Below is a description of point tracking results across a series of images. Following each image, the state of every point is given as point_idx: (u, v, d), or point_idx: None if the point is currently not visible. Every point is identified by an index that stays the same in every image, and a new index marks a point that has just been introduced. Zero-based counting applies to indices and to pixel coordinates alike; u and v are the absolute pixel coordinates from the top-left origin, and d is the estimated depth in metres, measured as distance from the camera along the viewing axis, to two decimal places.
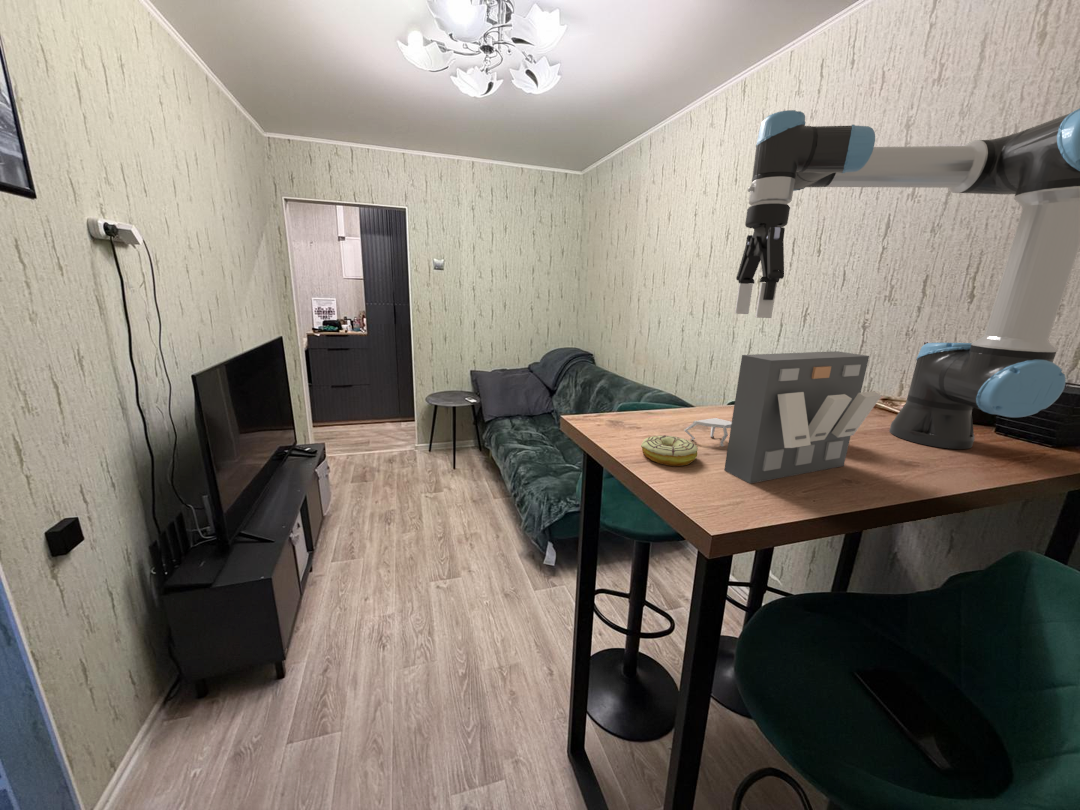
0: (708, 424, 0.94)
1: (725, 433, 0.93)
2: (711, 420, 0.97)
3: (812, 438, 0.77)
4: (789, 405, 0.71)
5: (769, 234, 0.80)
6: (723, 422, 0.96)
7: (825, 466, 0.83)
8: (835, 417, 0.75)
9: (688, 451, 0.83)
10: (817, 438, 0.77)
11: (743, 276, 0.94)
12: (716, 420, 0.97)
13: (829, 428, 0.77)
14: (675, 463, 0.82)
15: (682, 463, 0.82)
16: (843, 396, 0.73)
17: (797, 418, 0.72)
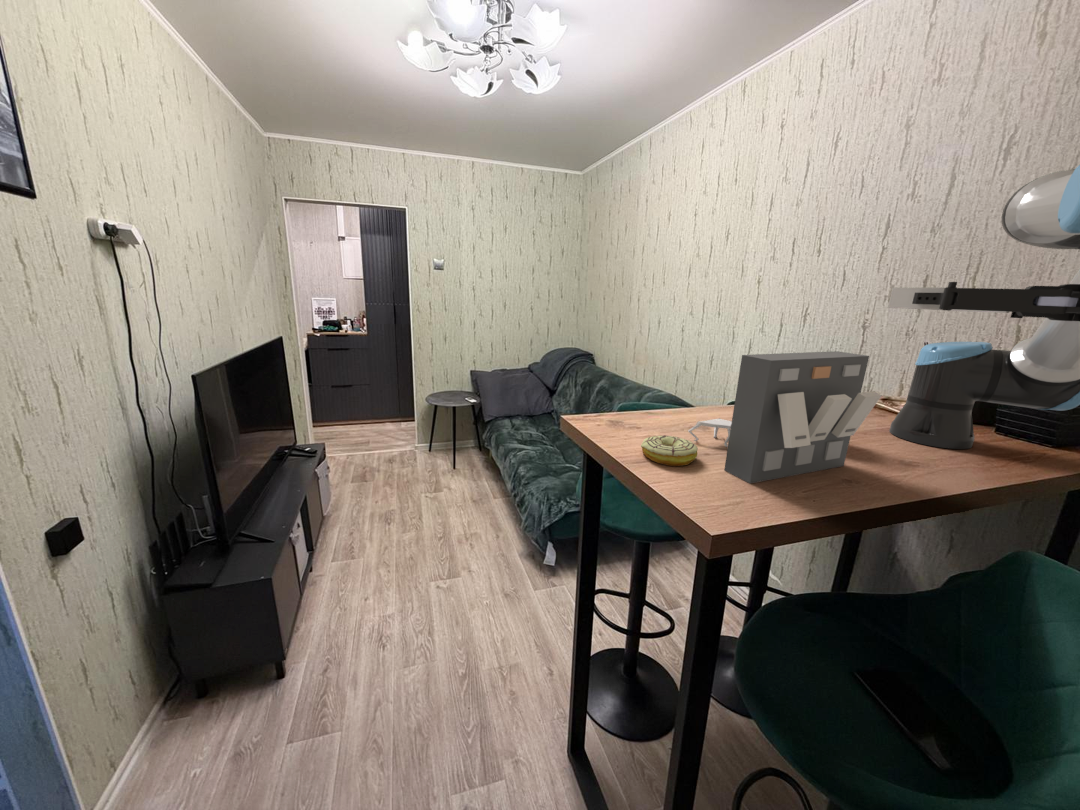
0: (712, 425, 0.94)
1: None
2: (715, 421, 0.96)
3: (812, 438, 0.77)
4: (789, 405, 0.71)
5: None
6: (727, 422, 0.96)
7: (825, 466, 0.83)
8: (835, 417, 0.75)
9: (688, 451, 0.83)
10: (817, 438, 0.77)
11: None
12: (720, 421, 0.97)
13: (829, 428, 0.77)
14: (675, 463, 0.82)
15: (682, 463, 0.82)
16: (843, 396, 0.73)
17: (797, 418, 0.72)
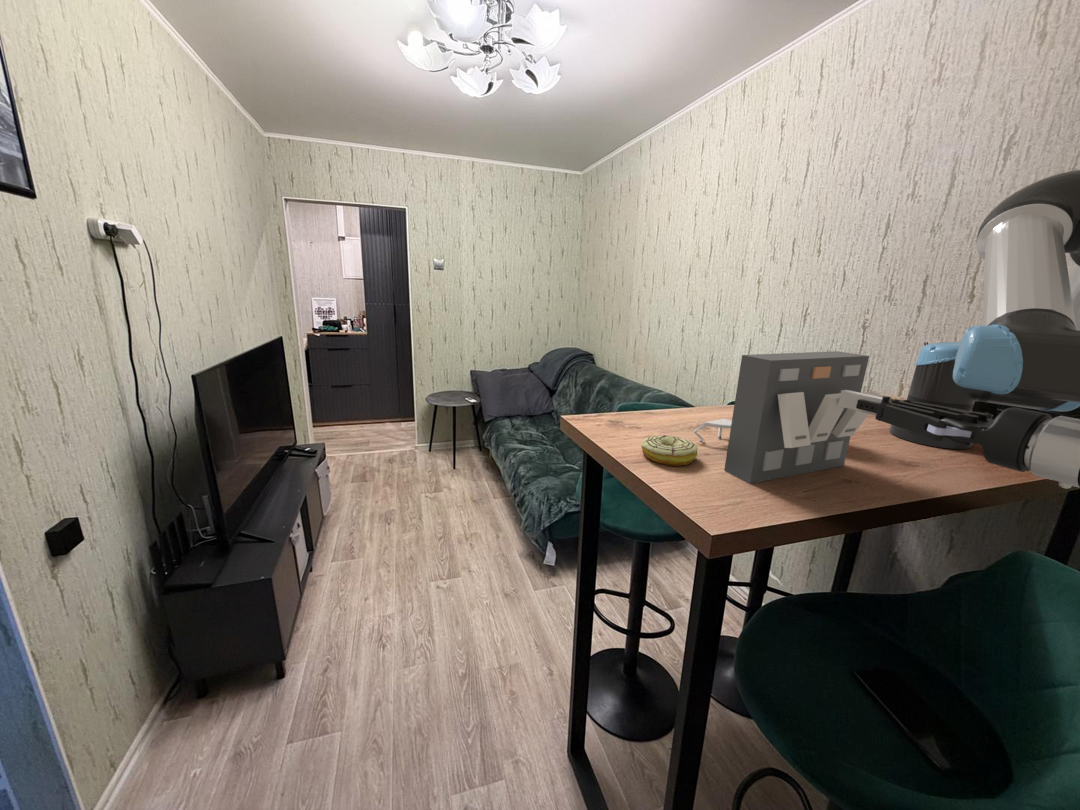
0: (718, 425, 0.94)
1: None
2: (720, 421, 0.96)
3: (814, 439, 0.76)
4: (789, 405, 0.71)
5: None
6: None
7: (825, 466, 0.83)
8: (835, 416, 0.75)
9: (688, 450, 0.82)
10: (819, 439, 0.77)
11: None
12: (724, 421, 0.96)
13: (830, 428, 0.76)
14: (675, 463, 0.82)
15: (682, 463, 0.82)
16: None
17: (797, 418, 0.72)
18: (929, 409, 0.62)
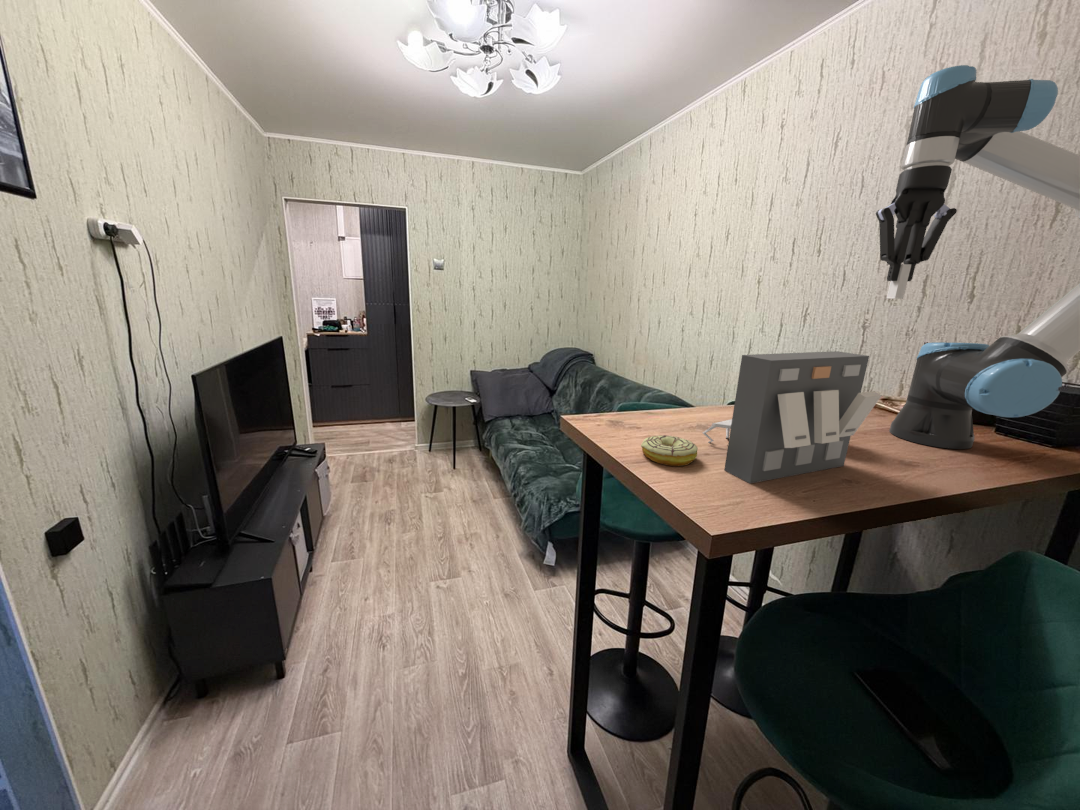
0: (728, 426, 0.94)
1: None
2: (729, 422, 0.96)
3: (825, 438, 0.74)
4: (789, 405, 0.71)
5: None
6: None
7: (825, 466, 0.83)
8: (834, 412, 0.75)
9: (688, 451, 0.82)
10: (830, 439, 0.75)
11: (906, 253, 0.85)
12: None
13: (836, 426, 0.75)
14: (674, 463, 0.82)
15: (681, 463, 0.82)
16: (829, 390, 0.76)
17: (797, 418, 0.72)
18: (908, 236, 0.83)
